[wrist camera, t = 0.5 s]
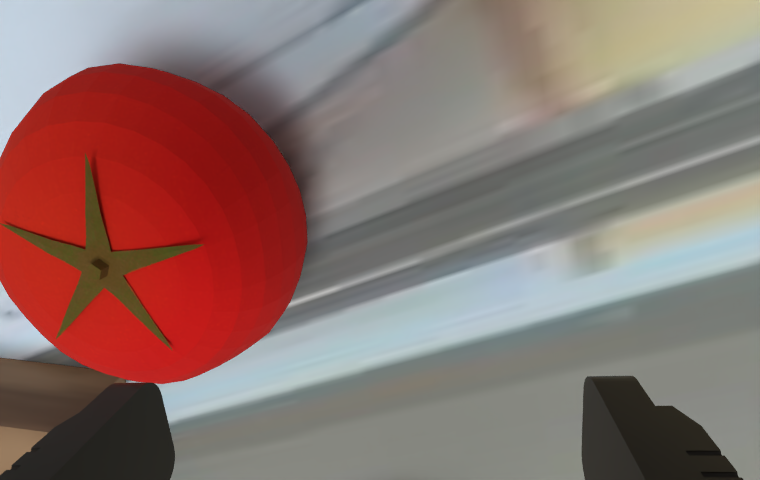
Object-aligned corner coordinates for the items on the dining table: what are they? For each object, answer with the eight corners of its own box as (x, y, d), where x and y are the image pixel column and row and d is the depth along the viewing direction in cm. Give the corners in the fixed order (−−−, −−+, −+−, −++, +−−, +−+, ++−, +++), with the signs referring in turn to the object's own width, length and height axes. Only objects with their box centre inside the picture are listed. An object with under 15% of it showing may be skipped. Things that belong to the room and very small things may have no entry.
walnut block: (-46, 349, 33) (-144, 407, 28) (127, 370, 32) (62, 434, 27) (-10, 489, 37) (-89, 564, 32) (144, 511, 36) (91, 593, 31)
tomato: (314, 333, 30) (256, 465, 20) (107, 301, 31) (-47, 412, 21) (335, 82, 25) (270, 94, 15) (88, 51, 26) (-125, 43, 16)
